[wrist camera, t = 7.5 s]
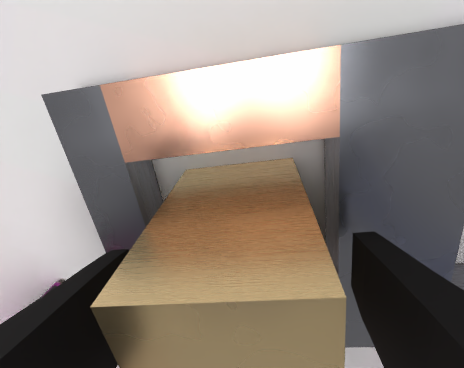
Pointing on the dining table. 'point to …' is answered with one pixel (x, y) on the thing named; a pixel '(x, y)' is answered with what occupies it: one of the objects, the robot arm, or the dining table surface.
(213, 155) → the dining table surface
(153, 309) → the light brown rectangular block
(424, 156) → the grey flat frame piece
